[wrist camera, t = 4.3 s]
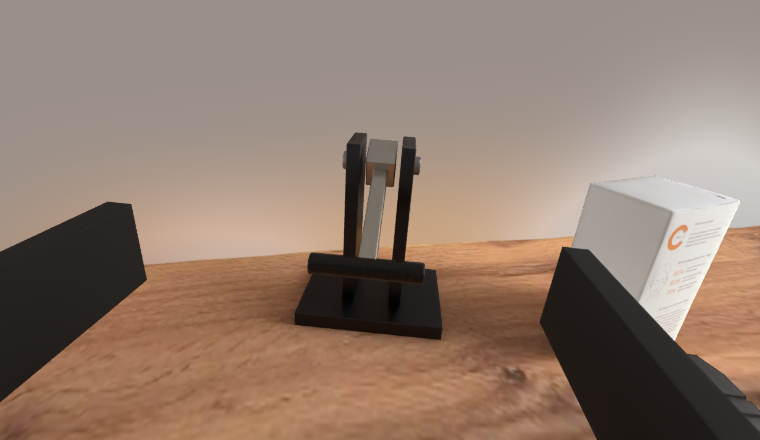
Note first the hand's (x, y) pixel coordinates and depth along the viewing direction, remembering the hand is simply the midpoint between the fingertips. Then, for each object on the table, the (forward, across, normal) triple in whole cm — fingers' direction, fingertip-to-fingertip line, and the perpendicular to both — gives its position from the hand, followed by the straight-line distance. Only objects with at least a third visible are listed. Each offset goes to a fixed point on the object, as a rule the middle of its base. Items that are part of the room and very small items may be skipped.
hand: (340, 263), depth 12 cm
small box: (+18, +21, -15) cm, 31 cm away
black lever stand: (+19, 0, -15) cm, 24 cm away
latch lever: (+15, 0, -5) cm, 16 cm away
